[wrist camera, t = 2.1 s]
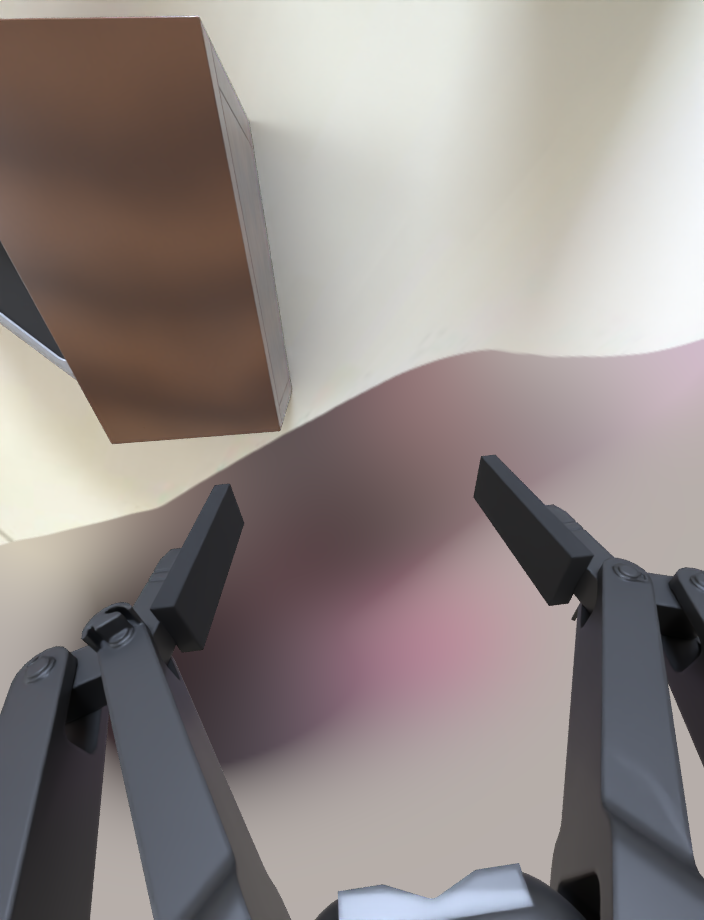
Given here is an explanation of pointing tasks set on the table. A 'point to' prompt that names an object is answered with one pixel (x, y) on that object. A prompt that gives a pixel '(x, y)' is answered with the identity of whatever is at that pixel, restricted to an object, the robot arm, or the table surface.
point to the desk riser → (141, 223)
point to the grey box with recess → (25, 314)
